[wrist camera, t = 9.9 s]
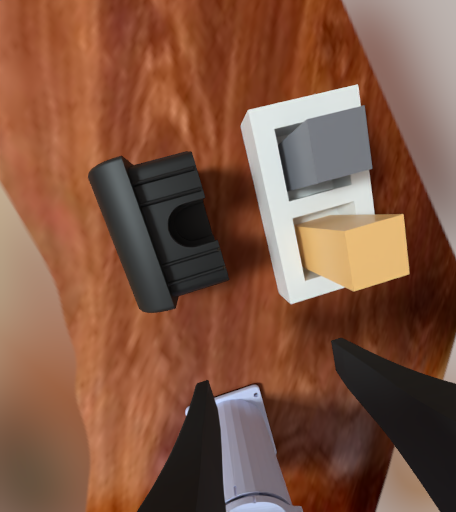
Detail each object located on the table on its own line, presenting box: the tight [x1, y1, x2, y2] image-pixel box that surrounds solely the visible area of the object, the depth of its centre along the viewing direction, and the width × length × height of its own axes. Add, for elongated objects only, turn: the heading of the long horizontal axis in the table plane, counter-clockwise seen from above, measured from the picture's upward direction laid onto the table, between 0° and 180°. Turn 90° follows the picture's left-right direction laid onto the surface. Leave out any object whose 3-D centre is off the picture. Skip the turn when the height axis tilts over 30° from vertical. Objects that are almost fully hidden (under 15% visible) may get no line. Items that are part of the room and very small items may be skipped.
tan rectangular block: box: [294, 214, 409, 291], centre depth 18 cm, size 4×4×8 cm
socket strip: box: [241, 85, 375, 304], centre depth 19 cm, size 16×9×6 cm, turn 15°
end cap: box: [88, 151, 229, 313], centre depth 17 cm, size 10×7×7 cm
